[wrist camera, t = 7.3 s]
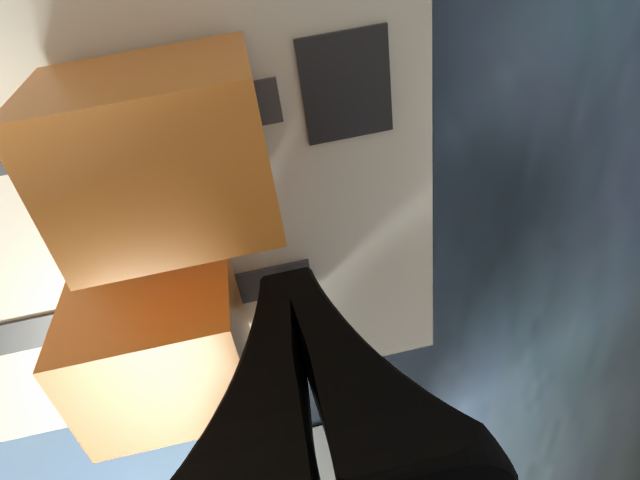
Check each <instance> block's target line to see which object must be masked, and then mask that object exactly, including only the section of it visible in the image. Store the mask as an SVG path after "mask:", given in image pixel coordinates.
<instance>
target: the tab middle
mask: <svg viewBox="0 0 640 480" xmlns="http://www.w3.org/2000/svg"><path fill="white" fill-rule="evenodd" d="M0 161H1V163H2V165H3V166H4V168H5V170H6V172H7V174H8V176H9V178H10V179H11V181H12V183H13V185H14V187H15V189H16V191H17V192H18V194H19V196H20V198H21V200H22V202H23V204H24V205H25V207H26V209H27V211H28V213H29V215H30V217H31V218H32V220H33V222H34V224H35V226H36V228H37V229H38V231H39V233H40V235H41V237H42V239H43V241H44V242H45V244H46V246H47V248H48V250H49V252H50V254H51V255H52V257H53V259H54V261H55V263H56V265H57V267H58V268H59V270H60V272H61V274H62V276H63V278H64V280H65V281H66V283H67V285H68V287H69V289H70V291H75V290H80V289H85V288H89V287H94V286H99V285H104V284H109V283H113V282H118V281H123V280H128V279H133V278H138V277H142V276H147V275H152V274H157V273H162V272H166V271H171V270H176V269H181V268H186V267H191V266H195V265H200V264H205V263H210V262H215V261H219V260H224V259H229V258H234V257H239V256H243V255H248V254H253V253H258V252H263V251H268V250H272V249H277V248H282V247H287V243H286V238H285V233H284V229H283V224H282V219H281V214H280V209H279V204H278V199H277V194H276V190H275V185H274V180H273V175H272V170H271V165H270V160H269V155H268V151H267V146H266V141H265V136H264V131H263V126H262V121H261V116H260V112H259V107H258V102H257V97H256V92H255V87H254V82H253V78H252V73H251V68H250V64H249V59H248V55H247V50H246V45H245V41H244V36H243V32H242V31H239V32H233V33H228V34H222V35H216V36H211V37H205V38H200V39H194V40H188V41H183V42H177V43H172V44H166V45H160V46H155V47H149V48H144V49H138V50H132V51H127V52H121V53H116V54H110V55H104V56H99V57H93V58H88V59H82V60H76V61H71V62H65V63H60V64H54V65H48V66H43V67H37V68H36V69H35V70H34V71H33V73H32V74H31V75H30V76H29V77H28V78H27V79H26V80H25V81H24V82H23V84H22V85H21V86H20V87H19V88H18V89H17V90H16V91H15V92H14V93H13V95H12V96H11V97H10V98H9V99H8V100H7V101H6V102H5V103H4V105H3V106H2V107H1V108H0Z"/></svg>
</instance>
